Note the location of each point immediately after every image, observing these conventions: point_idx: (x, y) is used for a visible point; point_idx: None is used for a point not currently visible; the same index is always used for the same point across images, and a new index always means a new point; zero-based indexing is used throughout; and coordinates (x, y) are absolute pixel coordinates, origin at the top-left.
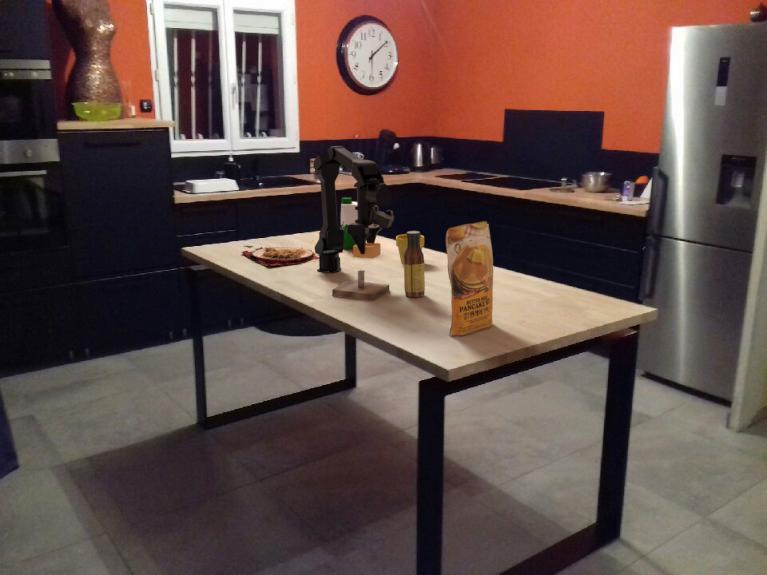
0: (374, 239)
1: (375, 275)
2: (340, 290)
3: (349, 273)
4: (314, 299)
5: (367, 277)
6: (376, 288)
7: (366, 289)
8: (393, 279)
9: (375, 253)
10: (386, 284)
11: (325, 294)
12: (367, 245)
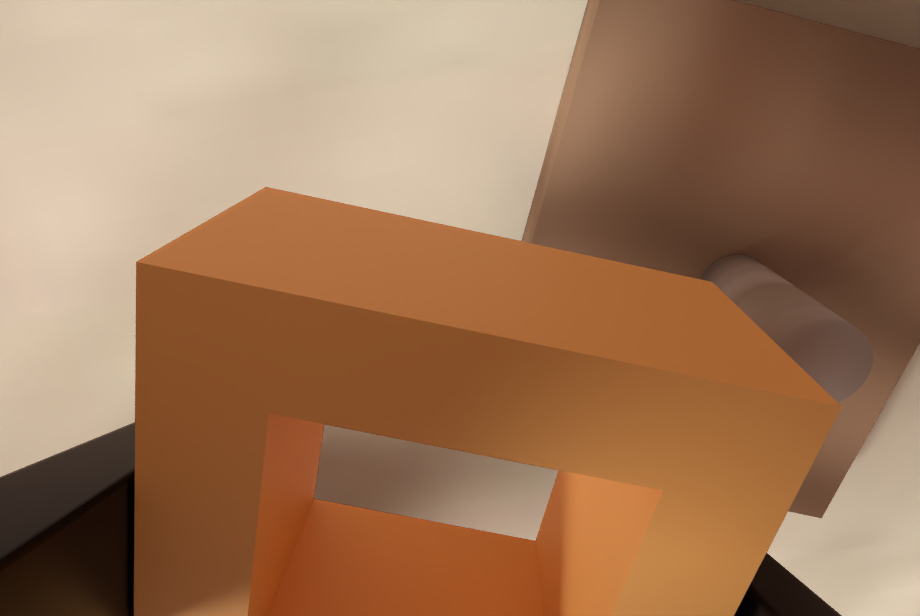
0: (28, 533)
1: (13, 242)
2: (858, 449)
3: None
4: (892, 575)
5: (121, 306)
6: (798, 107)
7: (836, 215)
8: (93, 9)
9: (578, 276)
10: (608, 8)
11: None
12: (268, 566)
